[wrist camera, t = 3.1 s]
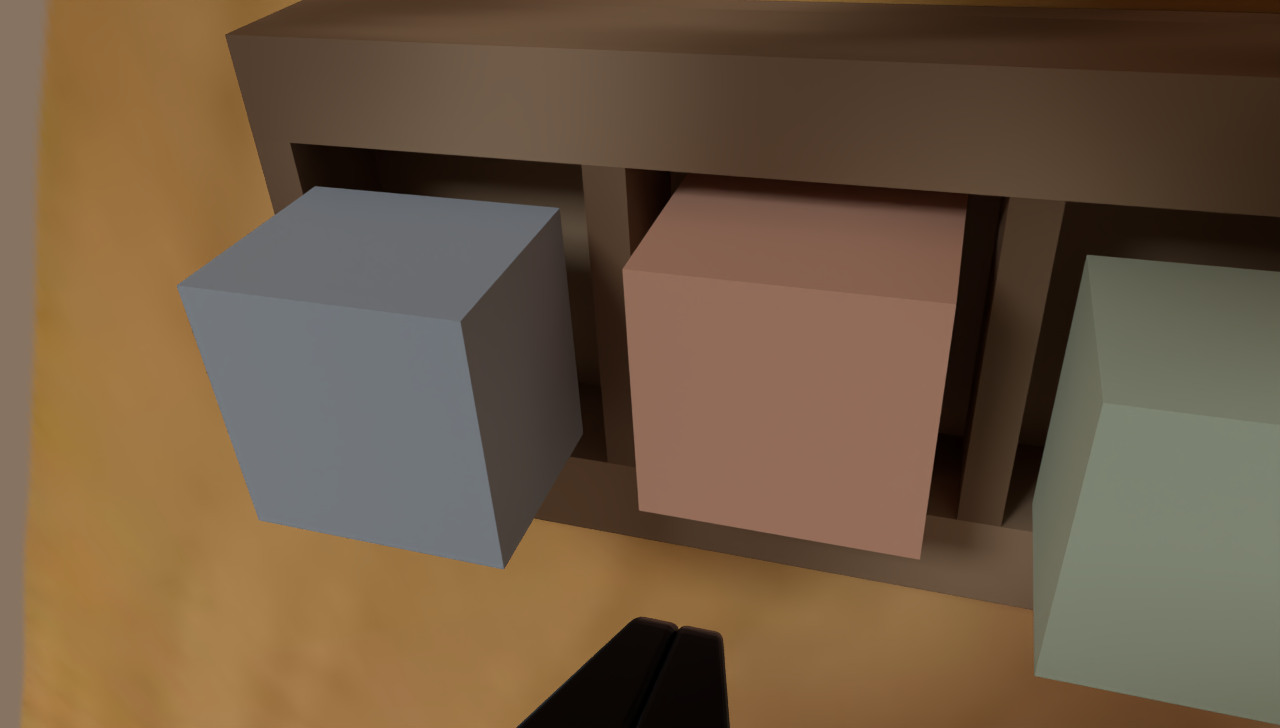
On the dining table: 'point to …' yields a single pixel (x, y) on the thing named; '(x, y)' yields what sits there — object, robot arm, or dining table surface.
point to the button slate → (395, 367)
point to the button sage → (1164, 490)
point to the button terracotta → (793, 356)
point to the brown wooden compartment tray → (813, 152)
